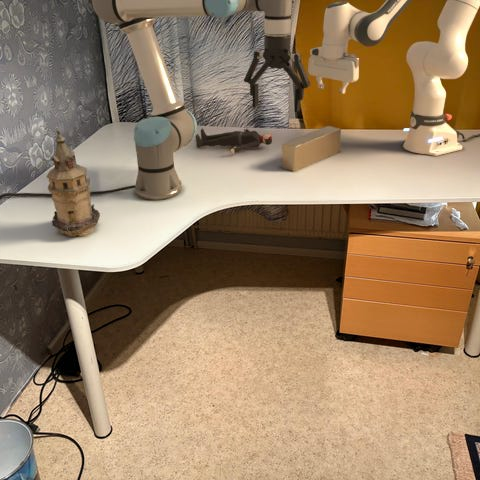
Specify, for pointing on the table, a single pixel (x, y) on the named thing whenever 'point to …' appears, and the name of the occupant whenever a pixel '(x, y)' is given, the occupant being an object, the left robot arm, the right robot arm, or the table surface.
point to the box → (310, 148)
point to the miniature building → (70, 193)
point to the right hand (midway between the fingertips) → (331, 90)
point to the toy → (234, 140)
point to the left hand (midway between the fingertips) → (276, 108)
